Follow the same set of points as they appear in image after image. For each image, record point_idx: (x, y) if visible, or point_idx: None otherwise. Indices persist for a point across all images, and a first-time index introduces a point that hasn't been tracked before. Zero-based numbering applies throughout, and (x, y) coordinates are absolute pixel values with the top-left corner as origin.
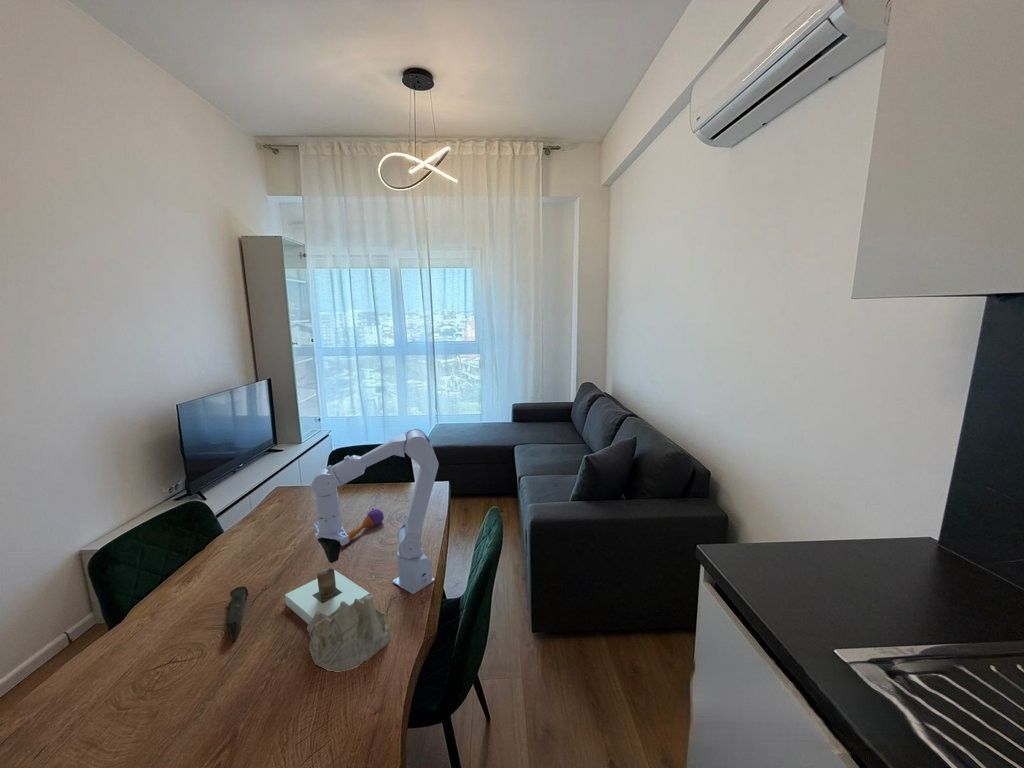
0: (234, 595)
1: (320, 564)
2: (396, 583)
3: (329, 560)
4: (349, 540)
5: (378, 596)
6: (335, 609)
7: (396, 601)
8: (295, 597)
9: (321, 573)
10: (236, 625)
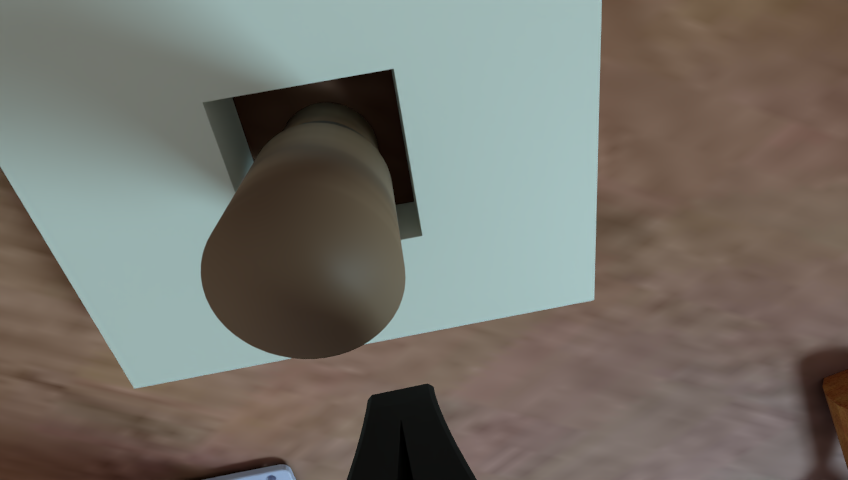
0: None
1: (800, 239)
2: (247, 476)
3: (388, 413)
4: (835, 425)
5: (207, 383)
6: (46, 160)
7: (100, 431)
8: None
9: (328, 242)
10: None
